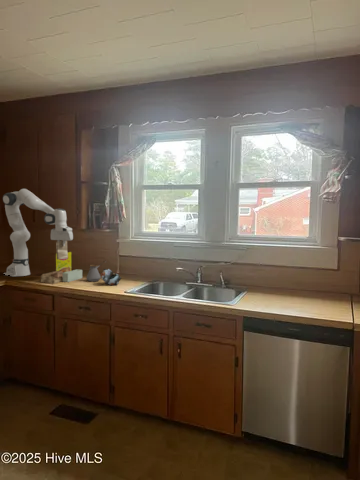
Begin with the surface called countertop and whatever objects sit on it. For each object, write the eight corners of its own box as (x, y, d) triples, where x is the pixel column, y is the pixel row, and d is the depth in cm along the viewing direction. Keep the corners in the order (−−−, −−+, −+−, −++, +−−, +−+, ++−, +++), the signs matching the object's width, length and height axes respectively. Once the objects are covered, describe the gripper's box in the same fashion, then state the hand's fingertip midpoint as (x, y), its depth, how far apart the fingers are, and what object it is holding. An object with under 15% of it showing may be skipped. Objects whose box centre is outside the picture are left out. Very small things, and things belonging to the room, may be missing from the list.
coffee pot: (94, 282, 277) (94, 264, 275) (83, 281, 282) (83, 262, 280) (111, 278, 295) (111, 260, 294) (100, 276, 301) (100, 259, 299)
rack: (40, 282, 276) (40, 274, 275) (56, 277, 293) (56, 270, 292) (53, 283, 271) (53, 276, 270) (69, 279, 288) (69, 272, 288)
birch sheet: (56, 259, 278) (56, 241, 277) (66, 257, 288) (65, 240, 287) (58, 259, 278) (57, 241, 276) (67, 257, 288) (67, 240, 286)
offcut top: (52, 277, 276) (51, 273, 275) (56, 275, 286) (56, 271, 285) (57, 277, 276) (57, 273, 275) (62, 275, 286) (62, 271, 285)
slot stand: (62, 281, 279) (62, 272, 278) (77, 277, 296) (77, 269, 296) (67, 282, 277) (67, 273, 277) (82, 277, 294) (82, 269, 294)
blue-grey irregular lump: (116, 286, 265) (107, 271, 262) (104, 290, 270) (95, 275, 267) (124, 277, 279) (115, 262, 276) (112, 281, 284) (104, 267, 280)
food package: (56, 276, 297) (56, 253, 295) (55, 276, 298) (55, 253, 296) (71, 274, 309) (71, 252, 307) (71, 274, 310) (70, 251, 308)
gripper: (48, 228, 282) (49, 245, 283) (68, 229, 274) (69, 246, 275) (53, 228, 287) (54, 244, 289) (73, 228, 280) (74, 245, 281)
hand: (61, 245), depth 282 cm, fingers closed on birch sheet, 2 cm apart
